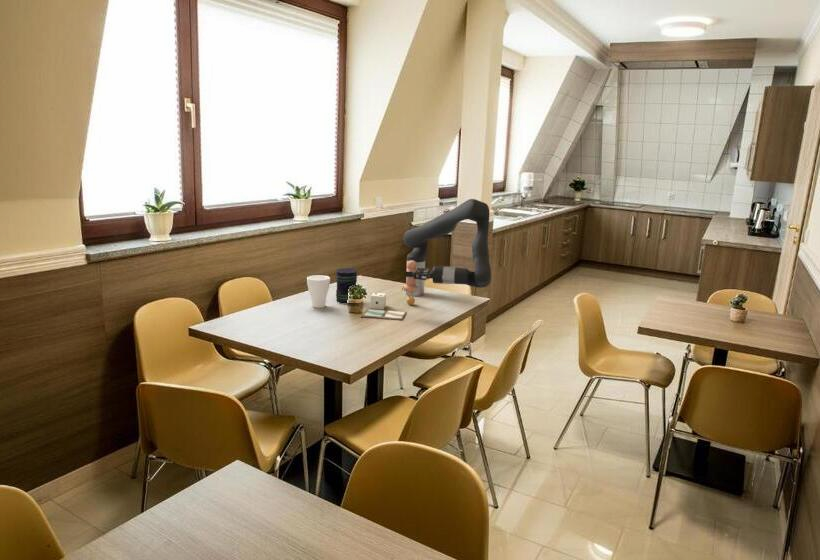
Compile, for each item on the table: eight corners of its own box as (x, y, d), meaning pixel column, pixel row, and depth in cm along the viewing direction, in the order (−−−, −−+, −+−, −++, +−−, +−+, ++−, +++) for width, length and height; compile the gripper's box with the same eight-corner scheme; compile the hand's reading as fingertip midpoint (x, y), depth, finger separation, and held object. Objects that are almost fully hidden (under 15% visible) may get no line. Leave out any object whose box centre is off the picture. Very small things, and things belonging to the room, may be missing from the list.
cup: (322, 310, 267) (322, 281, 264) (302, 307, 270) (302, 278, 267) (334, 304, 276) (334, 276, 273) (314, 302, 280) (314, 274, 277)
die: (373, 305, 278) (373, 292, 276) (385, 306, 277) (386, 293, 275) (370, 308, 272) (370, 295, 270) (383, 309, 271) (383, 296, 270)
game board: (366, 310, 269) (366, 308, 269) (406, 312, 266) (406, 311, 266) (360, 317, 258) (360, 315, 257) (402, 320, 255) (402, 318, 255)
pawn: (404, 287, 261) (405, 258, 258) (419, 288, 260) (420, 259, 257) (402, 291, 255) (403, 261, 252) (417, 292, 254) (418, 262, 251)
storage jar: (340, 297, 289) (340, 267, 286) (359, 299, 287) (359, 269, 284) (332, 302, 280) (332, 271, 277) (352, 304, 278) (352, 273, 274)
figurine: (419, 304, 281) (420, 279, 279) (418, 307, 276) (418, 282, 273) (402, 303, 283) (403, 278, 280) (400, 306, 277) (401, 281, 274)
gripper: (446, 263, 260) (407, 261, 262) (443, 270, 246) (402, 267, 249) (445, 279, 262) (407, 277, 264) (442, 287, 248) (401, 285, 250)
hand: (405, 272), depth 256 cm, fingers closed on pawn, 4 cm apart
